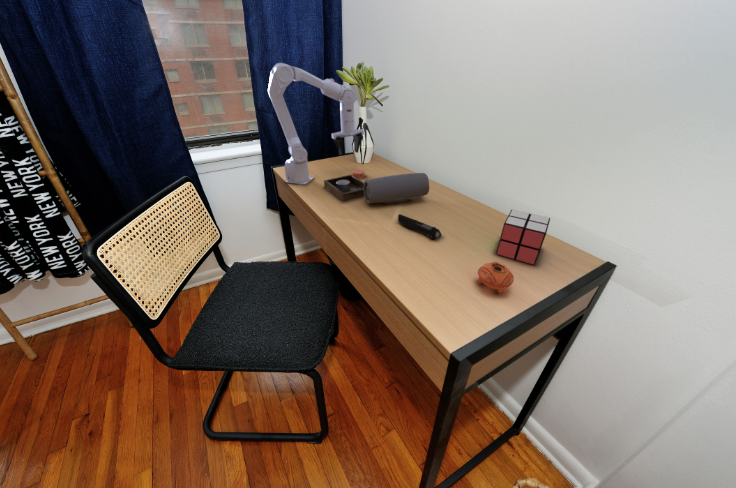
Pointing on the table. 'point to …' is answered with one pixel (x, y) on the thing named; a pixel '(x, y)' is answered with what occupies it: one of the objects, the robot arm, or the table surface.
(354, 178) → the dark brown tray
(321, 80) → the robot arm
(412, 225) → the electric trimmer
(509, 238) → the puzzle cube
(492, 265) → the pot
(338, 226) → the table surface
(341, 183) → the gray and black puck
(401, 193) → the bluetooth speaker
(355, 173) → the terracotta coaster
